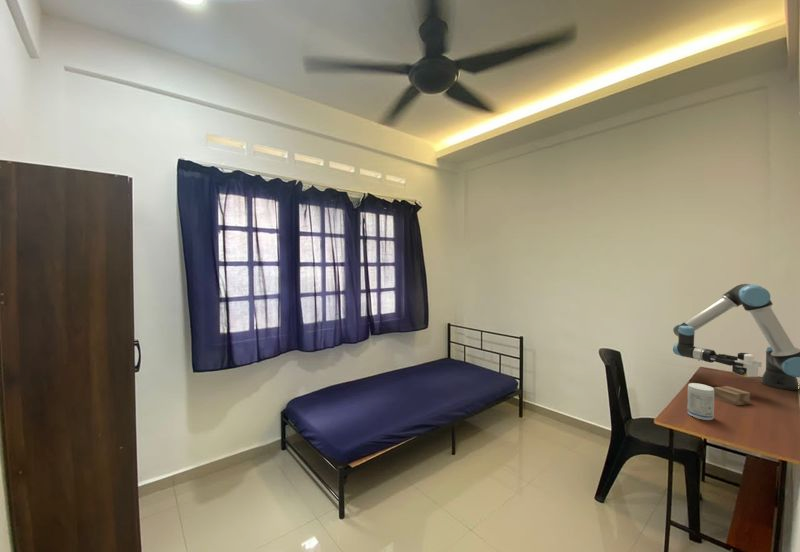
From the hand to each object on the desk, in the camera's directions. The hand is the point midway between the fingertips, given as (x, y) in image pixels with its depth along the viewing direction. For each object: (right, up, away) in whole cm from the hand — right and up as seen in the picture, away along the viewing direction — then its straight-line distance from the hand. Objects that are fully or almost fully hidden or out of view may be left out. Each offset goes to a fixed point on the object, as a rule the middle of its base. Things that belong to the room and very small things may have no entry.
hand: (756, 365), depth 176 cm
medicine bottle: (-2, -7, +5) cm, 8 cm away
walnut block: (-15, -19, -1) cm, 24 cm away
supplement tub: (-48, -20, -19) cm, 55 cm away
